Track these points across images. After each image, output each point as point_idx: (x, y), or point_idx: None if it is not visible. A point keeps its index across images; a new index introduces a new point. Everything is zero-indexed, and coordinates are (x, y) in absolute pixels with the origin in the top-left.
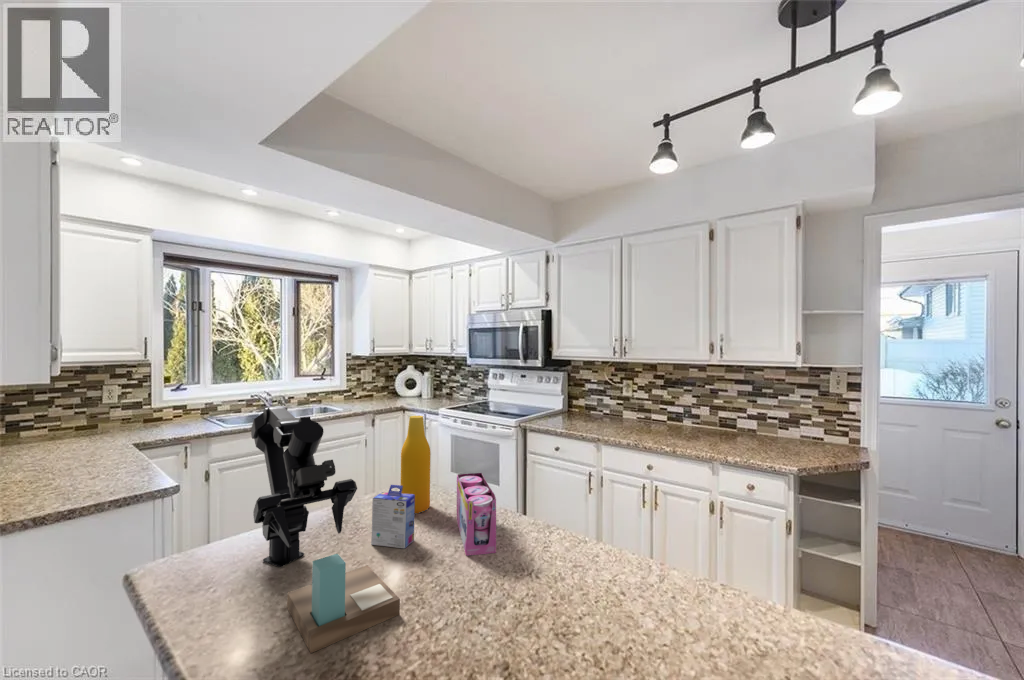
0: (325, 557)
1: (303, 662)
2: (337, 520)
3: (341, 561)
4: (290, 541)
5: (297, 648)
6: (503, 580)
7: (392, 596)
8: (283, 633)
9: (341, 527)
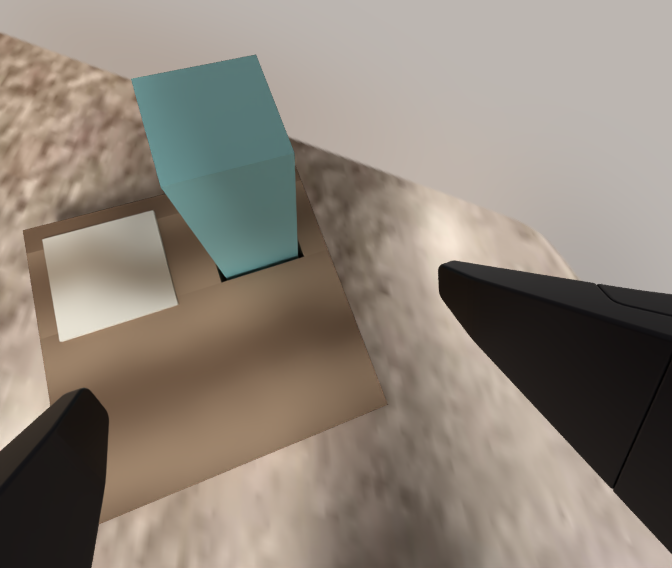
0: (228, 166)
1: (307, 166)
2: (35, 485)
3: (149, 96)
4: (455, 267)
5: (324, 213)
6: None
7: (41, 251)
8: (365, 279)
9: (46, 412)
